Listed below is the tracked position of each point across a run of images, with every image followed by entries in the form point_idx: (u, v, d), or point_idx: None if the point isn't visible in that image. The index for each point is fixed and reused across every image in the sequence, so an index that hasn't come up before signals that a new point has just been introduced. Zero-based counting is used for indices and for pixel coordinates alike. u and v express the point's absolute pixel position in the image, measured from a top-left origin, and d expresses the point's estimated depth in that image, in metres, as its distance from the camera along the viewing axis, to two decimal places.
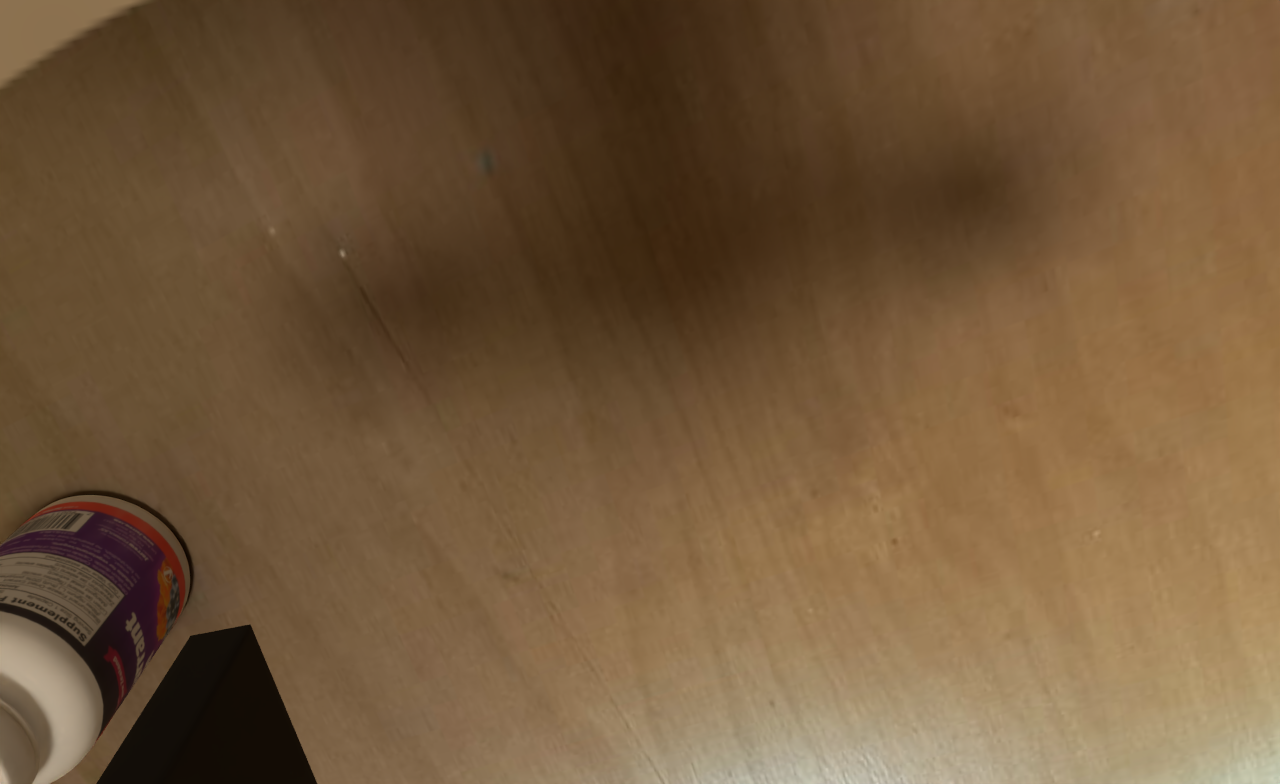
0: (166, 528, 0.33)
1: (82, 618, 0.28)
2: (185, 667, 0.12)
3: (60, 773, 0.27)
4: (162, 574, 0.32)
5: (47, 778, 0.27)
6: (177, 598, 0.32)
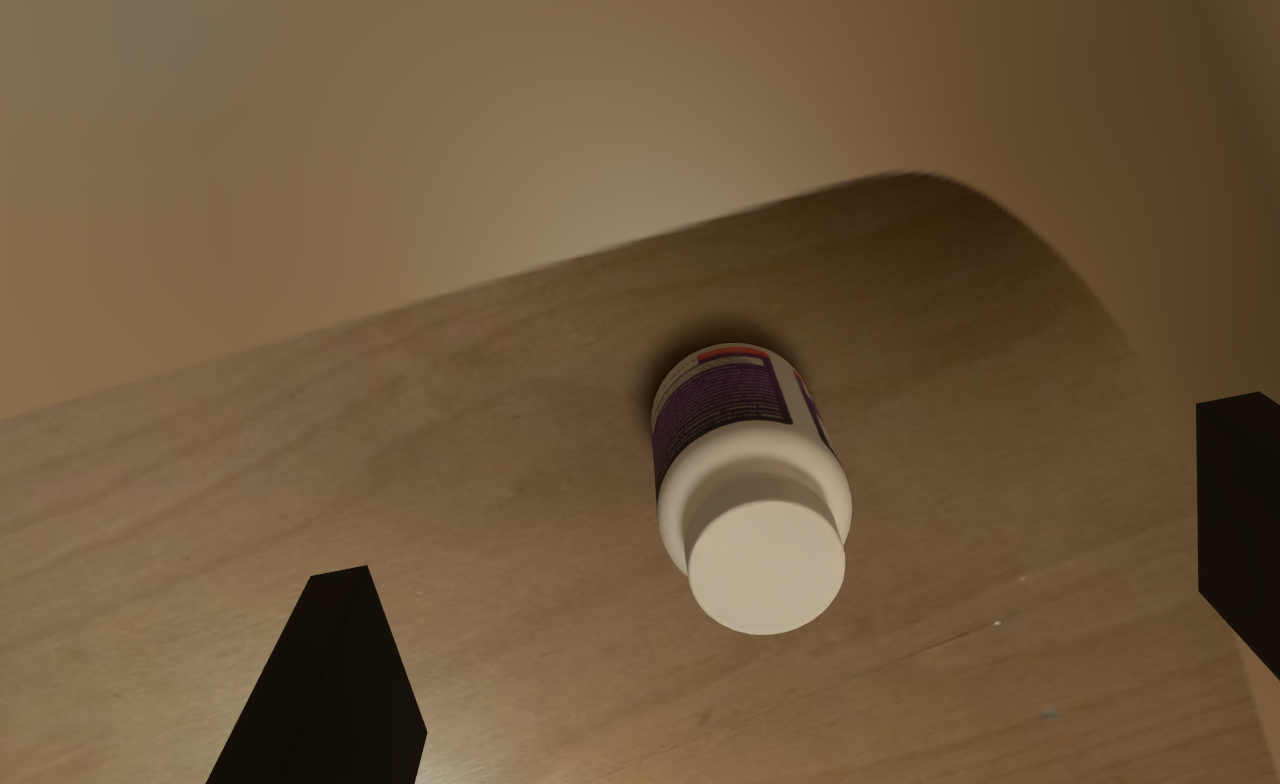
0: None
1: None
2: (312, 603, 0.13)
3: None
4: None
5: None
6: None
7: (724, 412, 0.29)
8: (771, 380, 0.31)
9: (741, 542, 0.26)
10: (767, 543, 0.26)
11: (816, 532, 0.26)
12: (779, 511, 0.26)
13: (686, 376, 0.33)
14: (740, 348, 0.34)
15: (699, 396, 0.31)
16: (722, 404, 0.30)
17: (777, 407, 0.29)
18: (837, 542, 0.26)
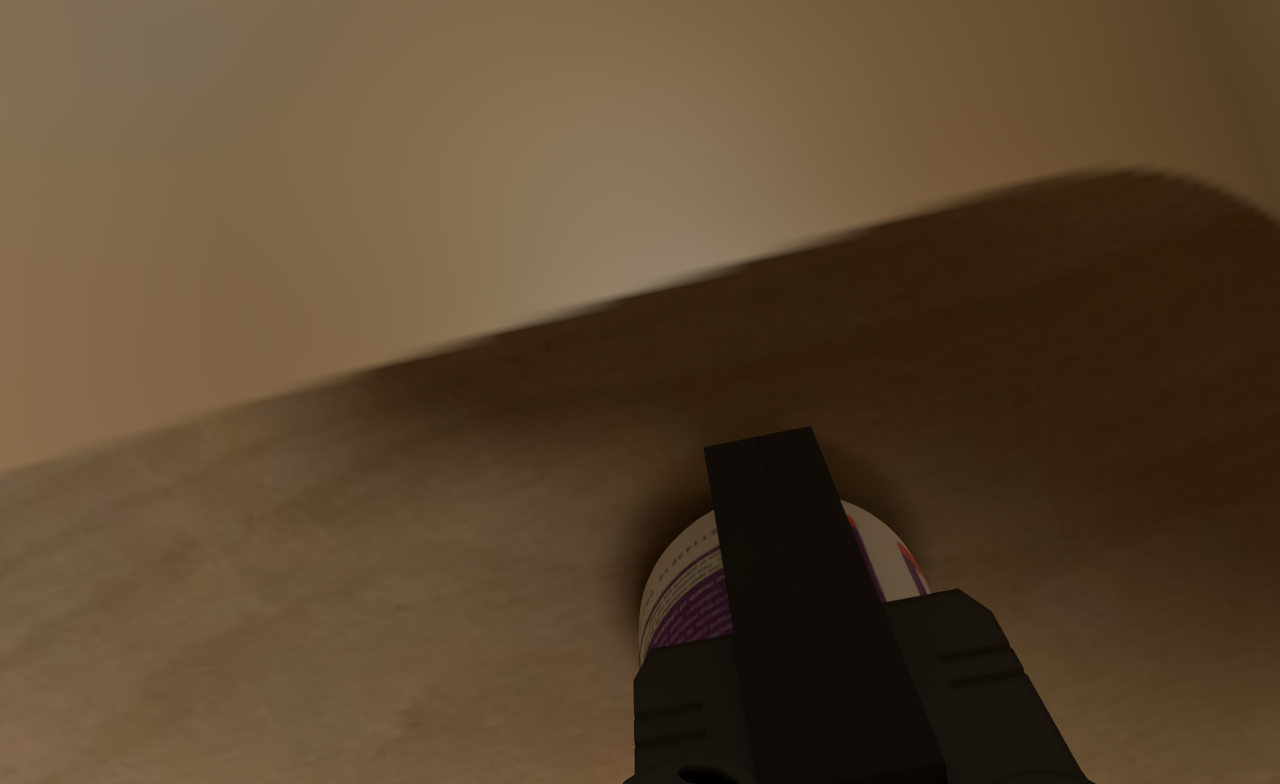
0: None
1: None
2: (723, 466, 0.14)
3: None
4: None
5: None
6: None
7: None
8: None
9: None
10: None
11: None
12: None
13: (703, 568, 0.17)
14: None
15: (730, 633, 0.16)
16: None
17: None
18: None
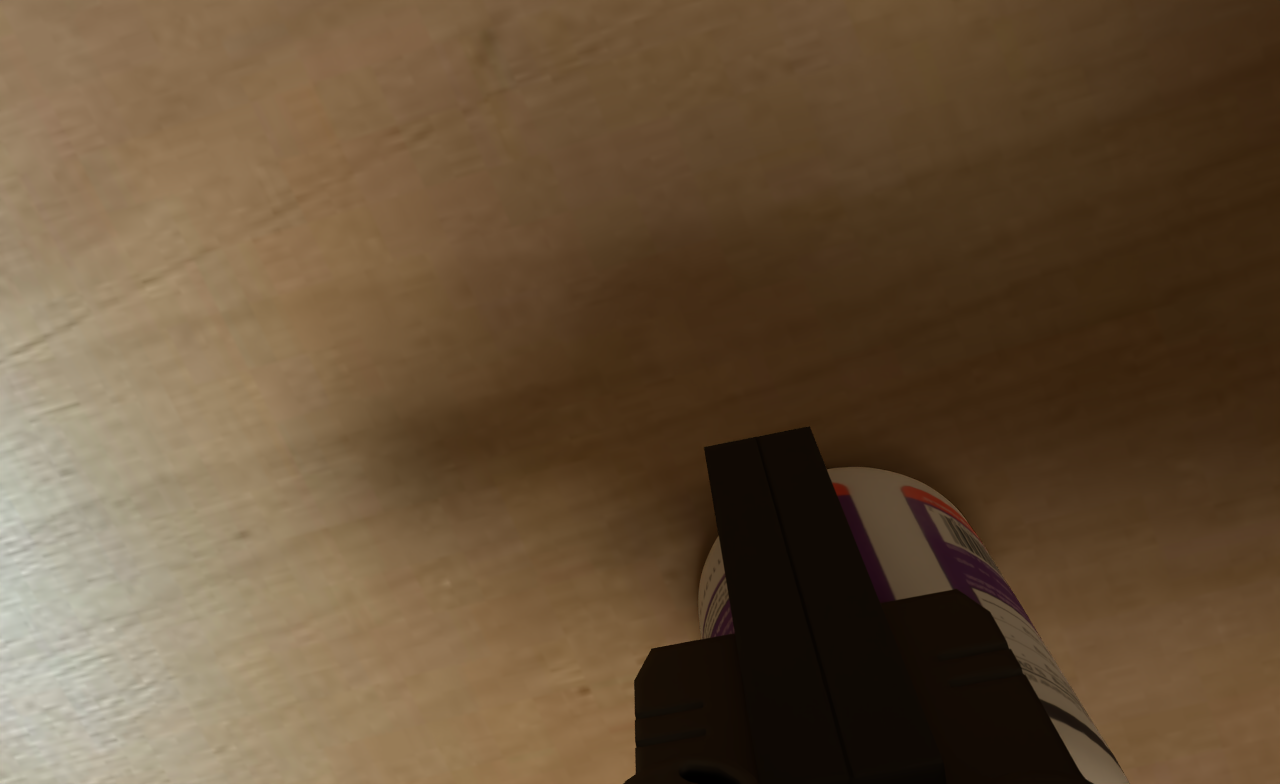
0: None
1: None
2: (723, 466, 0.14)
3: None
4: None
5: None
6: None
7: None
8: None
9: None
10: None
11: None
12: None
13: (721, 595, 0.18)
14: None
15: None
16: None
17: None
18: None
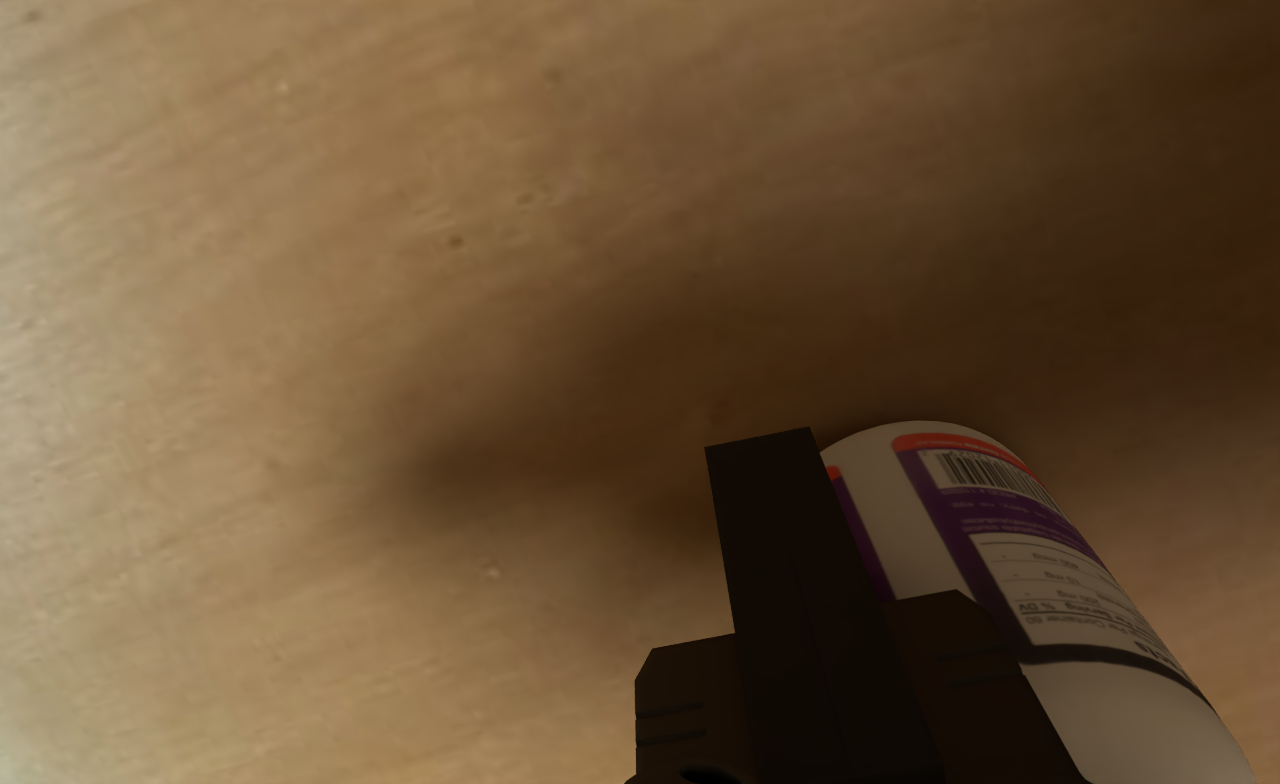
0: None
1: None
2: (723, 466, 0.14)
3: None
4: None
5: None
6: None
7: None
8: None
9: None
10: None
11: None
12: None
13: None
14: None
15: None
16: None
17: None
18: None
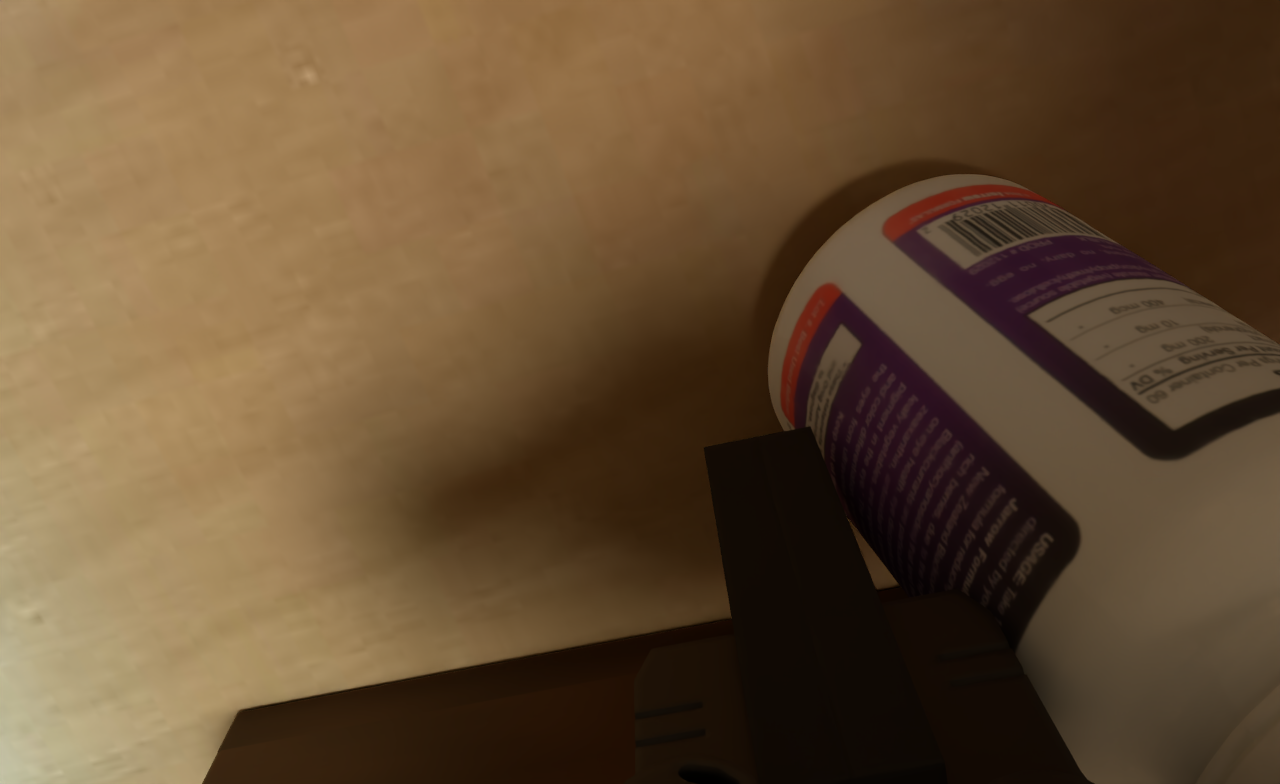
0: None
1: None
2: (722, 466, 0.14)
3: None
4: None
5: None
6: None
7: None
8: (911, 384, 0.13)
9: None
10: None
11: None
12: None
13: None
14: (797, 335, 0.15)
15: (888, 554, 0.14)
16: (940, 585, 0.12)
17: (1006, 500, 0.11)
18: None
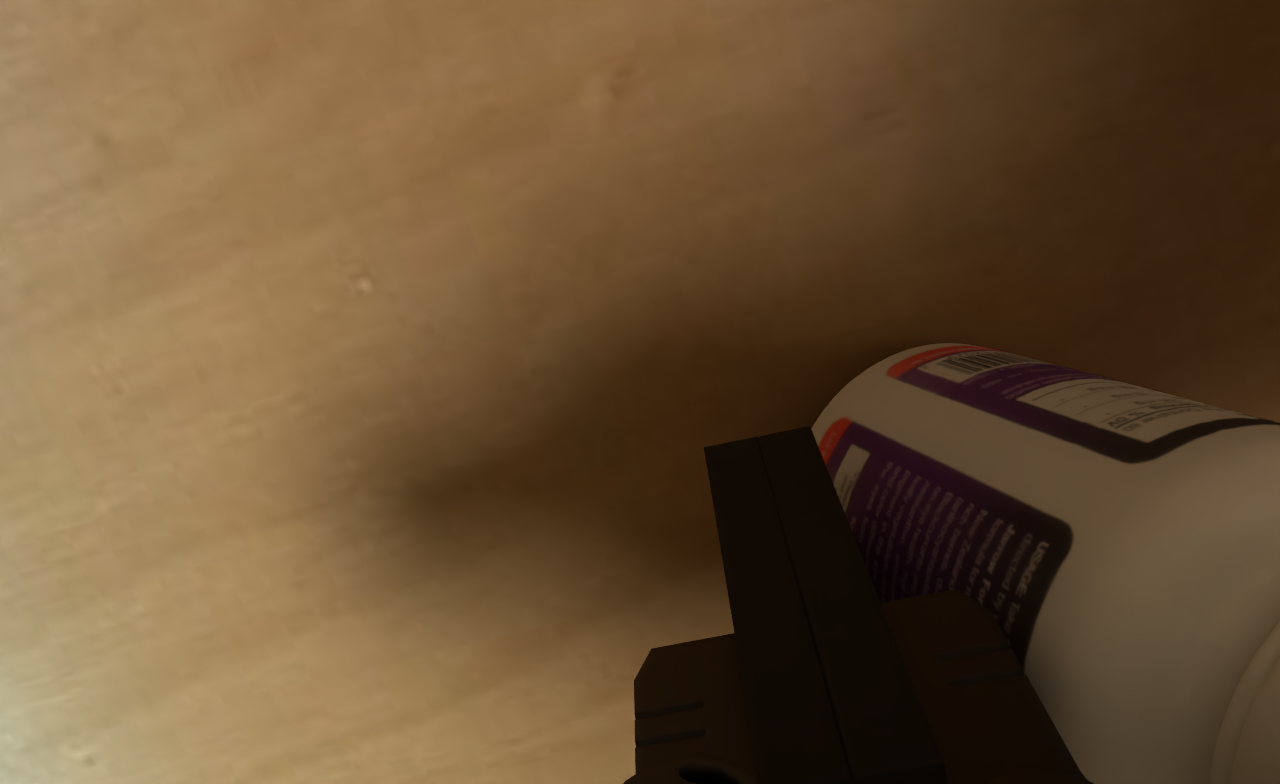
0: None
1: None
2: (723, 466, 0.14)
3: None
4: None
5: None
6: None
7: None
8: (915, 469, 0.14)
9: None
10: None
11: None
12: None
13: None
14: None
15: None
16: None
17: (1004, 527, 0.12)
18: None
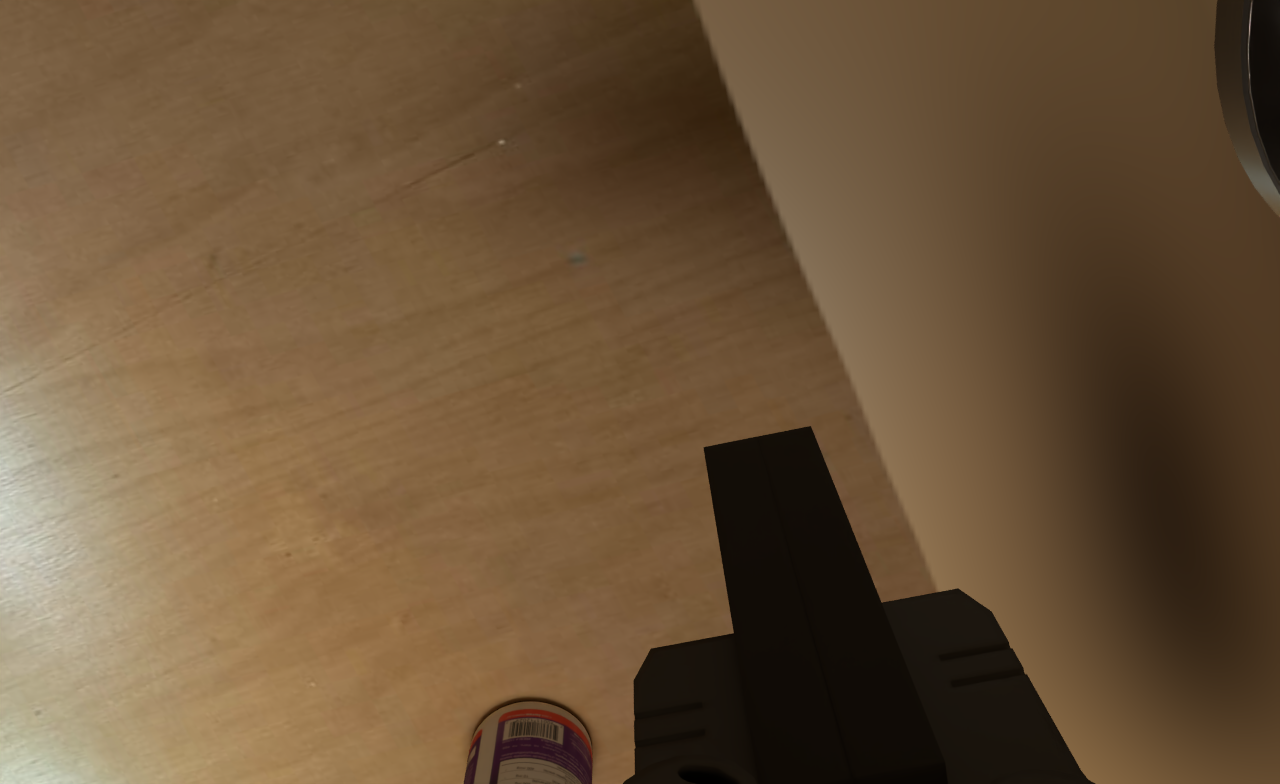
0: (589, 738, 0.46)
1: None
2: (723, 466, 0.14)
3: None
4: None
5: None
6: None
7: None
8: (472, 772, 0.43)
9: None
10: None
11: None
12: None
13: None
14: (471, 743, 0.46)
15: None
16: None
17: None
18: None
